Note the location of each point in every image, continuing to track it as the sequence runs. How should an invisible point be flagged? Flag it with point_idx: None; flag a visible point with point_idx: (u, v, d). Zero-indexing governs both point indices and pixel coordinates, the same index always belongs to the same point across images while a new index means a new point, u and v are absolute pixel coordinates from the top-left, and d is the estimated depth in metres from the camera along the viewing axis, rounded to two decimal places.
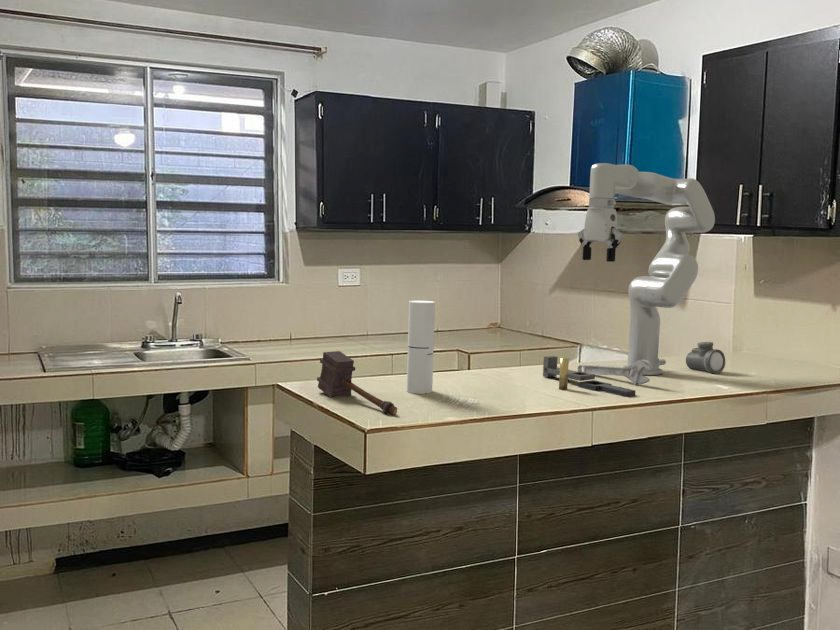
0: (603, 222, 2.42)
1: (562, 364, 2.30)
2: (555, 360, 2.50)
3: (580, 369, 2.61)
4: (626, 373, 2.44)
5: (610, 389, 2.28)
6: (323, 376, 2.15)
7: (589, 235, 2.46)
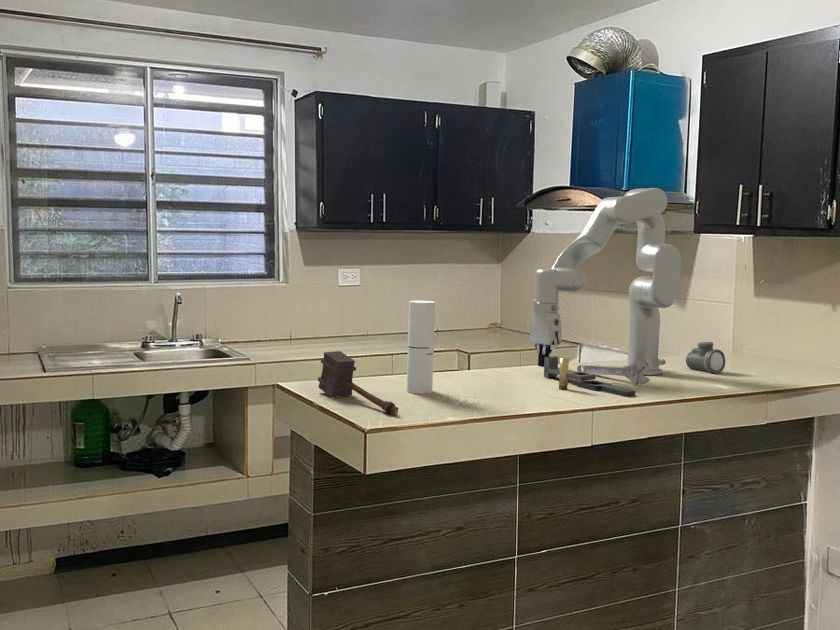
0: (547, 327, 2.47)
1: (562, 364, 2.30)
2: (556, 360, 2.49)
3: (580, 369, 2.61)
4: (626, 373, 2.44)
5: (610, 389, 2.28)
6: (324, 376, 2.14)
7: (534, 338, 2.52)
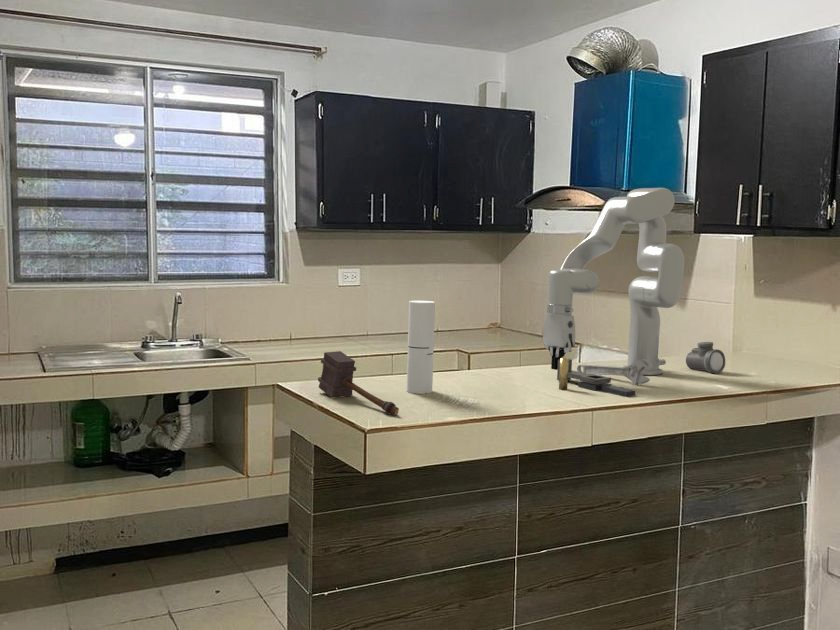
0: (560, 329, 2.42)
1: (562, 364, 2.30)
2: (570, 363, 2.45)
3: (579, 369, 2.61)
4: (626, 373, 2.44)
5: (610, 389, 2.28)
6: (324, 377, 2.14)
7: (547, 340, 2.47)
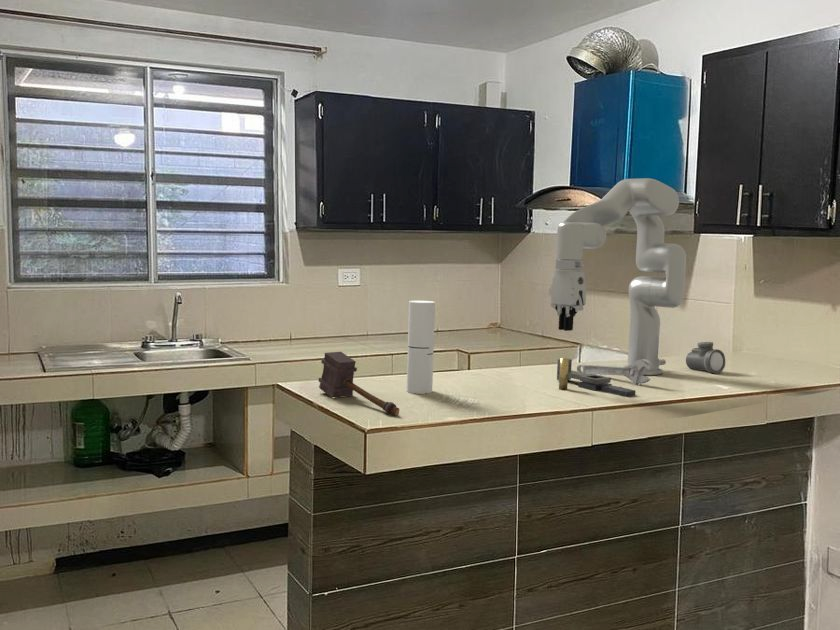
0: (570, 286, 2.25)
1: (562, 364, 2.30)
2: (570, 363, 2.45)
3: (579, 369, 2.61)
4: (626, 373, 2.44)
5: (610, 389, 2.28)
6: (325, 377, 2.14)
7: (556, 298, 2.30)
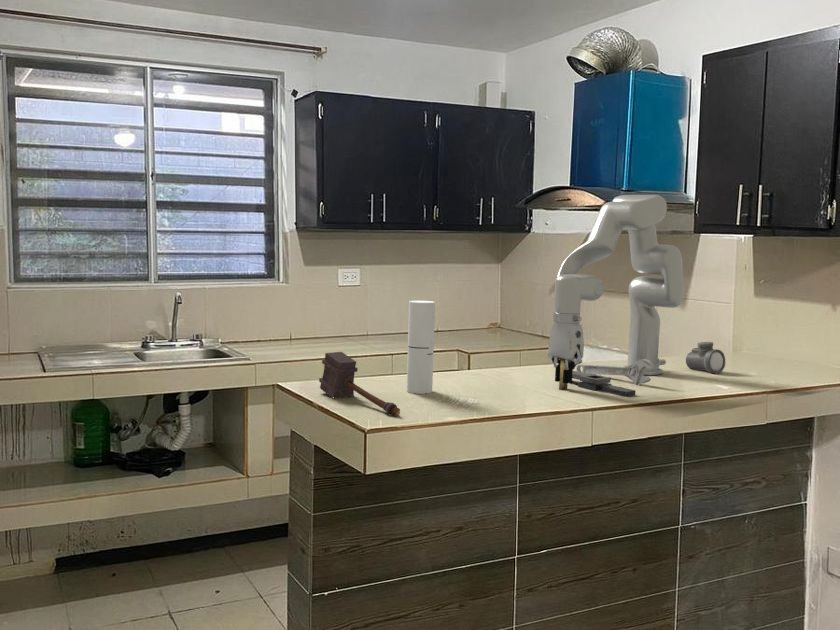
0: (568, 339, 2.26)
1: (562, 364, 2.30)
2: None
3: (579, 369, 2.61)
4: (626, 373, 2.44)
5: (610, 389, 2.28)
6: (325, 377, 2.14)
7: (553, 351, 2.31)
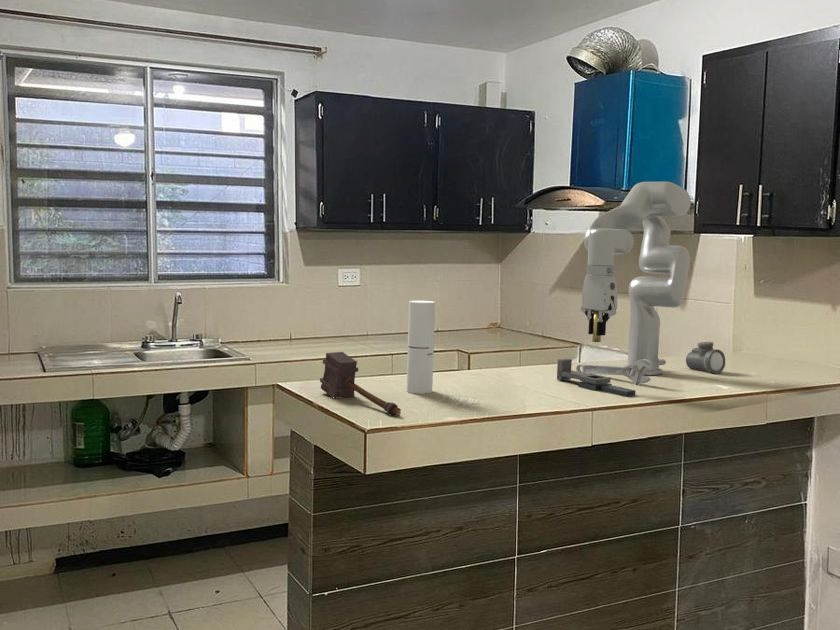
0: (602, 291, 2.28)
1: (595, 316, 2.32)
2: (570, 363, 2.45)
3: (579, 369, 2.61)
4: (626, 372, 2.44)
5: (610, 389, 2.28)
6: (326, 377, 2.14)
7: (587, 304, 2.33)
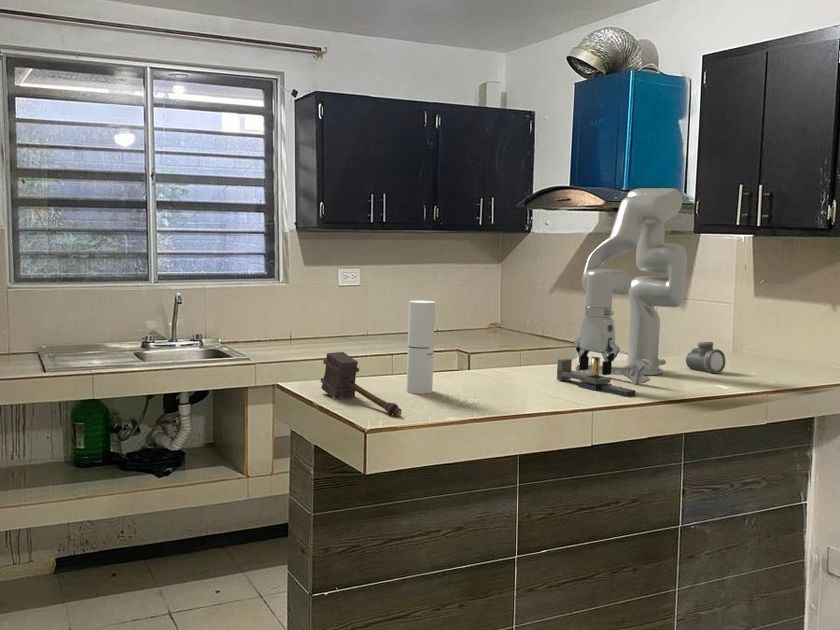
0: (600, 333, 2.30)
1: (593, 362, 2.34)
2: (570, 363, 2.45)
3: (578, 369, 2.61)
4: (626, 372, 2.45)
5: (610, 389, 2.28)
6: (327, 378, 2.13)
7: (585, 345, 2.35)
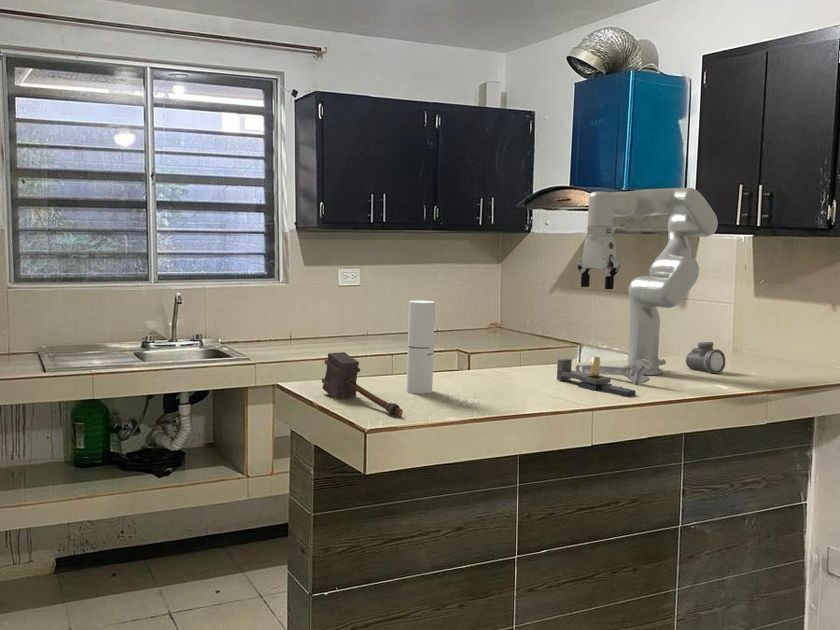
0: (601, 250, 2.42)
1: (593, 362, 2.34)
2: (570, 363, 2.45)
3: (578, 369, 2.61)
4: (625, 372, 2.45)
5: (610, 389, 2.28)
6: (328, 378, 2.13)
7: (587, 263, 2.47)
